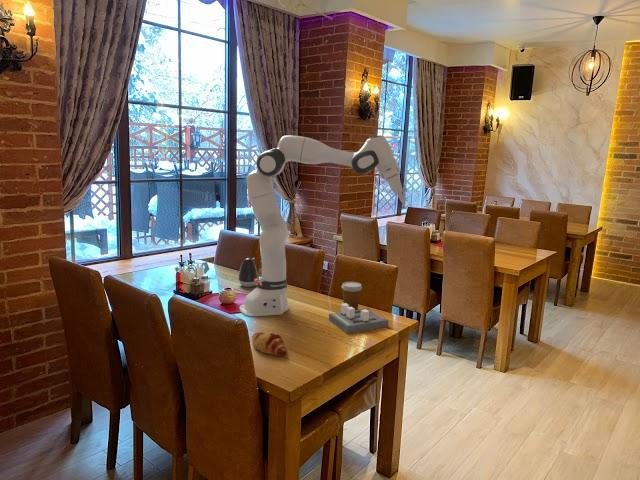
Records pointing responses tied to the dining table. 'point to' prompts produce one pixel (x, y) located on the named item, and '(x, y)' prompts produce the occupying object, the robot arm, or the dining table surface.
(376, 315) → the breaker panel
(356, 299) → the disposable coffee cup
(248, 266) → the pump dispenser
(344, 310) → the breaker back
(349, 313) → the breaker middle
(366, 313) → the breaker front
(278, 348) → the croissant
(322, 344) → the dining table surface
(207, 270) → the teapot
